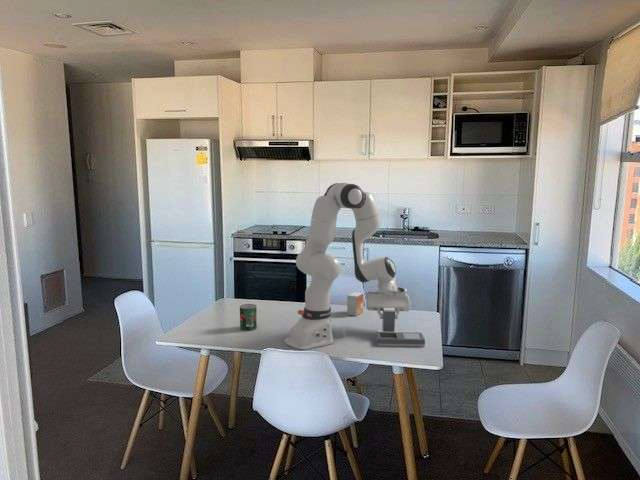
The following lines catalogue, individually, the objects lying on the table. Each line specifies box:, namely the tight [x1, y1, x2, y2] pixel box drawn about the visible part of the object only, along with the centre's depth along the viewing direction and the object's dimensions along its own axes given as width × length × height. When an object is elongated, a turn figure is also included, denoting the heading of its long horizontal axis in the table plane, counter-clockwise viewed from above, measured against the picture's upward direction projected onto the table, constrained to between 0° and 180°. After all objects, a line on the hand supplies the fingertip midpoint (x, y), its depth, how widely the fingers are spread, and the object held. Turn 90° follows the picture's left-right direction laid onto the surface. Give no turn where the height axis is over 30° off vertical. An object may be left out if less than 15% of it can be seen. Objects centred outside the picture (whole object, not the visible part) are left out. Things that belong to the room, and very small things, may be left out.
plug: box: [381, 308, 396, 332], centre depth 222 cm, size 5×5×10 cm
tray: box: [376, 329, 400, 332], centre depth 223 cm, size 10×10×1 cm
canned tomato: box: [239, 303, 258, 332], centre depth 231 cm, size 8×8×11 cm
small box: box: [346, 291, 364, 317], centre depth 255 cm, size 8×6×10 cm
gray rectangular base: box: [375, 331, 426, 347], centre depth 212 cm, size 20×9×4 cm, turn 88°
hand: (388, 318), depth 221 cm, fingers closed on plug, 5 cm apart
